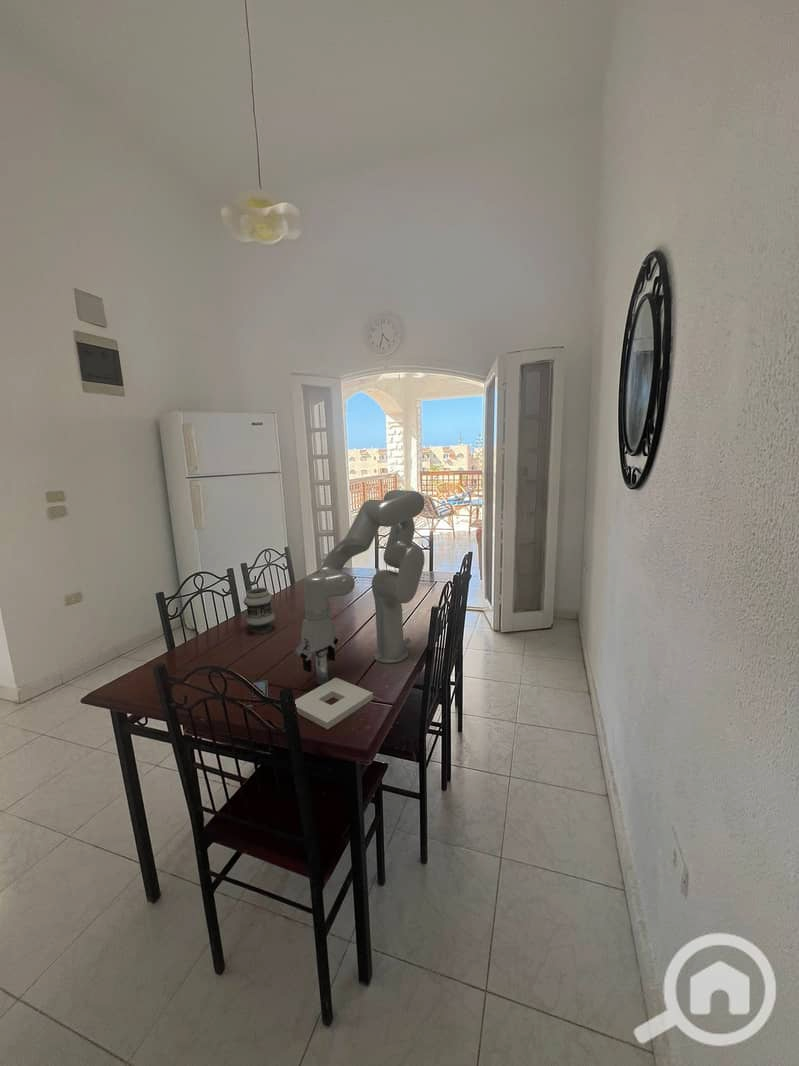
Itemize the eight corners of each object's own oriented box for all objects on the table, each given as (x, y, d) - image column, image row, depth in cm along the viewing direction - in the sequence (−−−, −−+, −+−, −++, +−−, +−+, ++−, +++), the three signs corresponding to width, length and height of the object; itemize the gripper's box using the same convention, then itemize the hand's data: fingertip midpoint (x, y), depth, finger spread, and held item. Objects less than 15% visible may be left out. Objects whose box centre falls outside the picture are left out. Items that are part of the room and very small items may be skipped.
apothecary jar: (240, 633, 181) (236, 592, 178) (261, 623, 191) (258, 584, 188) (261, 638, 175) (257, 596, 172) (282, 627, 185) (278, 587, 182)
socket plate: (336, 683, 137) (335, 677, 137) (373, 699, 127) (372, 692, 127) (290, 709, 123) (289, 703, 123) (327, 729, 114) (327, 722, 113)
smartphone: (267, 679, 141) (267, 702, 126) (267, 682, 141) (267, 705, 127) (243, 683, 139) (241, 707, 124) (243, 686, 139) (241, 710, 124)
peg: (323, 677, 141) (321, 645, 140) (333, 681, 139) (331, 648, 137) (312, 683, 138) (310, 650, 136) (322, 687, 135) (319, 654, 133)
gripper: (330, 604, 143) (331, 653, 146) (287, 618, 130) (290, 672, 132) (345, 608, 139) (347, 659, 141) (303, 624, 125) (305, 679, 128)
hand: (319, 665), depth 137 cm, fingers open, 9 cm apart
